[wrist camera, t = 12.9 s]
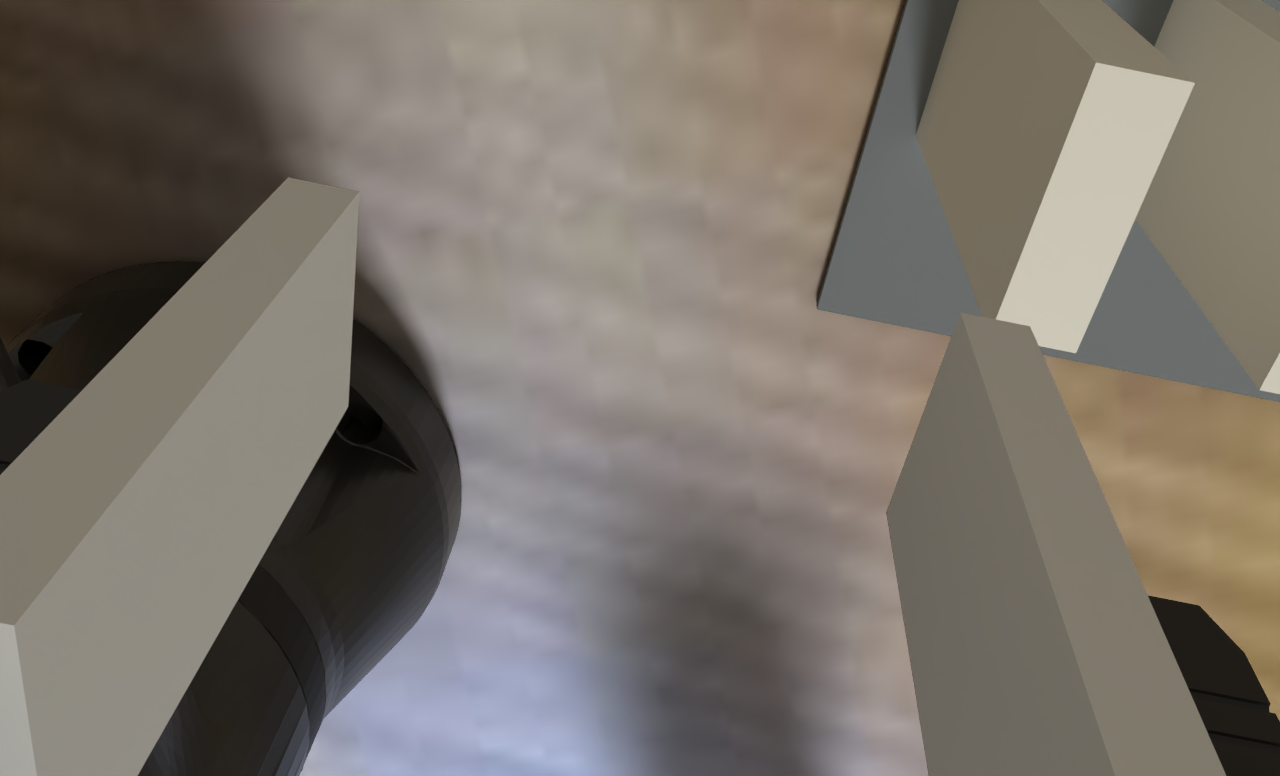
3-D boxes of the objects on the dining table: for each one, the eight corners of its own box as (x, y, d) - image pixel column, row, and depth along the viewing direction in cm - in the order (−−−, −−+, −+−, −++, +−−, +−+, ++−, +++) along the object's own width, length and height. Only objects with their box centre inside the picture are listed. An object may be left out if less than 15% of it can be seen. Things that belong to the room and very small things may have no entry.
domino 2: (1101, 173, 30) (1258, 390, 21) (1182, -22, 27) (1404, 126, 18) (1161, 185, 30) (1344, 407, 21) (1247, -8, 27) (1502, 146, 18)
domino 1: (915, 135, 30) (988, 336, 21) (979, -64, 27) (1095, 62, 18) (975, 147, 30) (1075, 352, 21) (1044, -51, 27) (1194, 83, 18)
